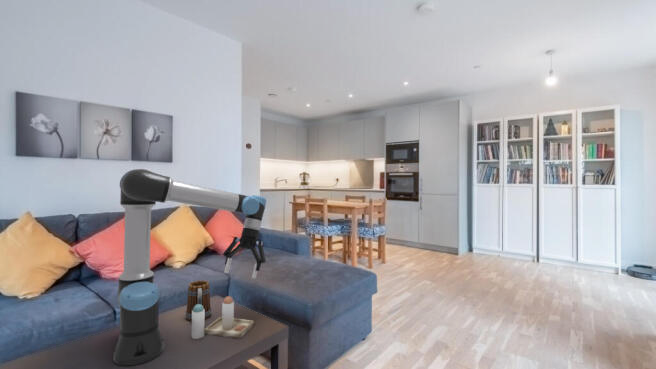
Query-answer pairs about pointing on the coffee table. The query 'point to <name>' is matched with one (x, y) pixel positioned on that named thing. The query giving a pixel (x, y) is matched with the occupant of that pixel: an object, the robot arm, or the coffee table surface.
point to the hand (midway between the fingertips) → (239, 275)
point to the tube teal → (198, 321)
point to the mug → (198, 298)
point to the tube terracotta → (228, 313)
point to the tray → (236, 332)
